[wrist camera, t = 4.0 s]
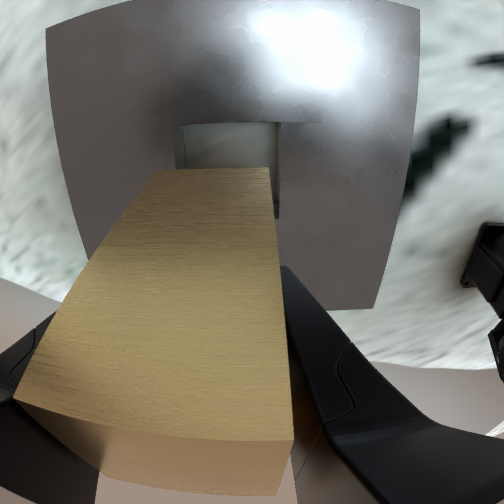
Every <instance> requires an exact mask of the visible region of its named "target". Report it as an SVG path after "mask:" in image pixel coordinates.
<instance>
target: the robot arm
mask: <svg viewBox="0 0 504 504" xmlns="http://www.w3.org/2000/svg"><path fill="white" fill-rule="evenodd" d="M280 274H281V284H282V295H283V305H284V316H285V327H286V339H287V351H288V363H289V375H290V388H291V402H292V416H293V431H294V442H293V445H292V448H291V452H290V455H291V462H292V468H293V474H294V480H295V488H296V494H297V501H298V504H504V439H500V438H494V437H490V436H485V435H481V434H476V433H472V432H468V431H464V430H460V429H456V428H451V427H448V426H445V425H441V424H439V423H437V422H435V421H433V420H431V419H430V418H428V417H427V416H426V415H424V414H423V413H422V412H421V411H420V410H418V409H417V408H416V407H415V406H414V405H413V404H412V403H411V402H410V401H409V400H408V399H407V398H406V397H405V396H404V395H403V394H401V393H400V392H399V391H398V390H397V389H396V388H395V387H394V386H393V385H392V384H391V383H390V382H388V380H387V379H386V378H385V377H383V375H382V374H381V373H379V371H378V370H377V369H375V367H374V366H373V365H372V364H371V363H370V362H369V361H368V360H367V359H366V358H365V356H364V355H363V354H362V353H361V352H360V351H359V350H358V348H357V347H356V346H355V345H354V344H353V343H352V342H351V340H350V339H349V338H348V337H347V335H346V334H345V333H344V332H343V331H342V329H341V328H340V327H339V326H338V325H337V323H336V322H335V321H334V320H333V319H332V318H331V316H330V315H329V314H328V313H327V312H326V310H325V309H324V308H323V307H322V306H321V305H320V303H319V302H318V301H317V300H316V299H315V298H314V296H313V295H312V294H311V293H310V292H309V291H308V289H307V288H306V287H305V286H304V285H303V283H302V282H301V281H300V280H299V279H298V278H297V276H296V275H295V274H294V273H293V272H292V271H291V270H290V268H289V267H288V266H280ZM460 284H461V285H462V287H463V288H469V287H477V288H478V290H479V291H480V293H481V294H482V295H483V297H484V298H485V300H486V301H487V303H490V305H491V306H492V308H493V309H494V311H495V312H496V314H497V315H498V317H499V319H502V320H501V321H500V322H499V323H498V324H497V326H496V327H495V328H494V329H493V330H491V331H490V332H489V334H488V337H489V341H490V345H491V348H492V351H493V354H494V358H495V361H496V365H497V368H498V372H499V376H500V378H501V380H502V381H503V383H504V224H499V223H485V224H483V225H482V227H481V230H480V233H479V236H478V239H477V241H476V244H475V247H474V249H473V252H472V255H471V257H470V260H469V262H468V265H467V267H466V270H465V272H464V275H463V277H462V279H461V282H460ZM56 312H57V311H56ZM56 312H54V313H53V314H52V315H50V316H49V317H48V318H46V319H45V320H44V321H43V322H41V323H40V324H39V325H37V326H36V329H35V328H34V329H32V330H31V331H30V332H29V333H27V334H26V335H25V336H24V337H22V338H21V339H20V340H18V341H17V342H16V343H15V344H13V345H12V346H11V347H9V348H8V349H6V350H5V351H4V352H2V353H1V354H0V504H94V503H95V496H96V490H97V483H98V477H99V470H97V469H96V468H94V467H93V466H92V465H90V464H89V463H87V462H86V461H85V460H83V459H82V458H81V457H79V456H78V455H77V454H75V453H74V452H73V451H71V450H70V449H69V448H68V447H66V446H65V445H64V444H63V443H61V442H60V441H59V440H58V439H56V438H55V437H54V436H53V435H52V434H51V433H49V432H48V431H47V430H46V429H45V428H44V427H43V426H41V425H40V424H39V423H38V422H37V421H36V420H35V419H34V418H33V417H32V416H31V415H30V414H28V413H27V412H26V411H25V410H24V409H23V408H22V407H21V406H20V405H19V404H18V403H17V402H16V401H15V400H14V399H13V396H14V394H15V392H16V389H17V387H18V385H19V383H20V381H21V378H22V376H23V374H24V372H25V370H26V368H27V366H28V364H29V362H30V360H31V358H32V356H33V354H34V352H35V350H36V348H37V346H38V344H39V343H40V341H41V339H42V337H43V335H44V333H45V331H46V330H47V328H48V326H49V324H50V323H51V321H52V319H53V317H54V316H55V314H56Z"/></svg>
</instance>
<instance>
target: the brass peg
mask: <svg viewBox="0 0 504 504" xmlns="http://www.w3.org/2000/svg"><path fill="white" fill-rule="evenodd" d="M13 399H14V400H15V401H16V402H17V403H18V404H19V405H20V406H21V407H22V408H23V409H24V410H25V411H26V412H27V413H28V414H30V415H31V416H32V417H33V418H34V419H35V420H36V421H37V422H38V423H39V424H40V425H41V426H43V427H44V428H45V429H46V430H47V431H48V432H49V433H51V434H52V435H53V436H54V437H55V438H56V439H58V440H59V441H60V442H61V443H63V444H64V445H65V446H66V447H68V448H69V449H70V450H71V451H73V452H74V453H75V454H77V455H78V456H79V457H81V458H82V459H83V460H85V461H86V462H87V463H89V464H90V465H92V466H93V467H94V468H96V469H97V470H99V471H100V472H102V473H103V474H105V475H106V476H108V477H110V478H114V479H118V480H122V481H127V482H131V483H136V484H141V485H146V486H151V487H157V488H164V489H169V490H176V491H184V492H193V493H203V494H216V495H234V496H276V493H277V490H278V488H279V485H280V482H281V479H282V476H283V473H284V470H285V467H286V464H287V461H288V458H289V455H290V452H291V448H292V445H293V442H294V431H293V416H292V402H291V388H290V375H289V363H288V351H287V339H286V327H285V316H284V305H283V295H282V284H281V274H280V264H279V255H278V245H277V236H276V227H275V217H274V209H273V200H272V191H271V183H270V174H269V167H235V168H202V169H181V170H165V171H156V172H155V173H154V175H153V176H152V177H151V178H150V180H149V181H148V182H147V183H146V184H145V186H144V187H143V188H142V189H141V191H140V192H139V193H138V194H137V196H136V197H135V198H134V199H133V201H132V202H131V203H130V205H129V206H128V207H127V208H126V210H125V211H124V212H123V214H122V215H121V216H120V218H119V219H118V220H117V222H116V223H115V224H114V226H113V227H112V228H111V230H110V231H109V233H108V234H107V235H106V237H105V238H104V240H103V241H102V242H101V244H100V245H99V247H98V248H97V249H96V251H95V252H94V254H93V255H92V257H91V258H90V260H89V261H88V263H87V264H86V266H85V267H84V269H83V270H82V272H81V273H80V275H79V276H78V278H77V279H76V281H75V283H74V284H73V286H72V287H71V289H70V291H69V292H68V294H67V295H66V297H65V299H64V300H63V302H62V304H61V306H60V307H59V309H58V310H57V312H56V314H55V316H54V317H53V319H52V321H51V323H50V324H49V326H48V328H47V330H46V331H45V333H44V335H43V337H42V339H41V341H40V343H39V344H38V346H37V348H36V350H35V352H34V354H33V356H32V358H31V360H30V362H29V364H28V366H27V368H26V370H25V372H24V374H23V376H22V378H21V381H20V383H19V385H18V387H17V389H16V392H15V394H14V396H13Z"/></svg>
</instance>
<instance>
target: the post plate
mask: <svg viewBox="0 0 504 504" xmlns="http://www.w3.org/2000/svg"><path fill="white" fill-rule="evenodd" d="M46 55H47V70H48V81H49V91H50V99H51V107H52V114H53V121H54V127H55V133H56V139H57V144H58V149H59V154H60V159H61V164H62V168H63V173H64V177H65V181H66V185H67V190H68V193H69V197H70V201H71V205H72V208H73V212H74V216H75V219H76V222H77V226H78V229H79V232H80V236H81V239H82V242H83V245H84V248H85V251H86V254H87V257H88V260H90V258H91V257H92V255H93V254H94V252H95V251H96V249H97V248H98V247H99V245H100V244H101V242H102V241H103V240H104V238H105V237H106V235H107V234H108V233H109V231H110V230H111V228H112V227H113V226H114V224H115V223H116V222H117V220H118V219H119V218H120V216H121V215H122V214H123V212H124V211H125V210H126V208H127V207H128V206H129V205H130V203H131V202H132V201H133V199H134V198H135V197H136V196H137V194H138V193H139V192H140V191H141V189H142V188H143V187H144V186H145V184H146V183H147V182H148V181H149V180H150V178H151V177H152V176H153V175H154V173H155V172H156V171H165V170H181V169H187V167H186V156H185V145H184V134H183V125H187V124H202V123H222V122H278V150H277V200H276V201H273V209H274V217H275V227H276V236H277V245H278V255H279V264H280V266H288V267H289V268H290V270H291V271H292V272H293V273H294V274H295V275H296V276H297V278H298V279H299V280H300V281H301V282H302V283H303V285H304V286H305V287H306V288H307V289H308V291H309V292H310V293H311V294H312V295H313V296H314V298H315V299H316V300H317V301H318V302H319V303H320V305H321V306H322V307H323V308H324V309H325V310H326V311H330V310H353V309H372V308H373V307H374V304H375V300H376V297H377V294H378V291H379V287H380V284H381V281H382V277H383V274H384V270H385V267H386V263H387V260H388V256H389V252H390V248H391V244H392V240H393V236H394V232H395V228H396V224H397V220H398V215H399V211H400V206H401V201H402V196H403V191H404V186H405V181H406V175H407V169H408V164H409V157H410V151H411V144H412V137H413V129H414V121H415V112H416V102H417V91H418V77H419V57H420V9H416V8H413V7H409V6H406V5H402V4H399V3H395V2H391V1H387V0H131V1H127V2H123V3H119V4H116V5H112V6H108V7H105V8H102V9H98V10H95V11H92V12H89V13H86V14H83V15H80V16H77V17H74V18H72V19H69V20H66V21H64V22H61V23H59V24H56V25H54V26H51V27H49V28H46Z"/></svg>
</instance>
